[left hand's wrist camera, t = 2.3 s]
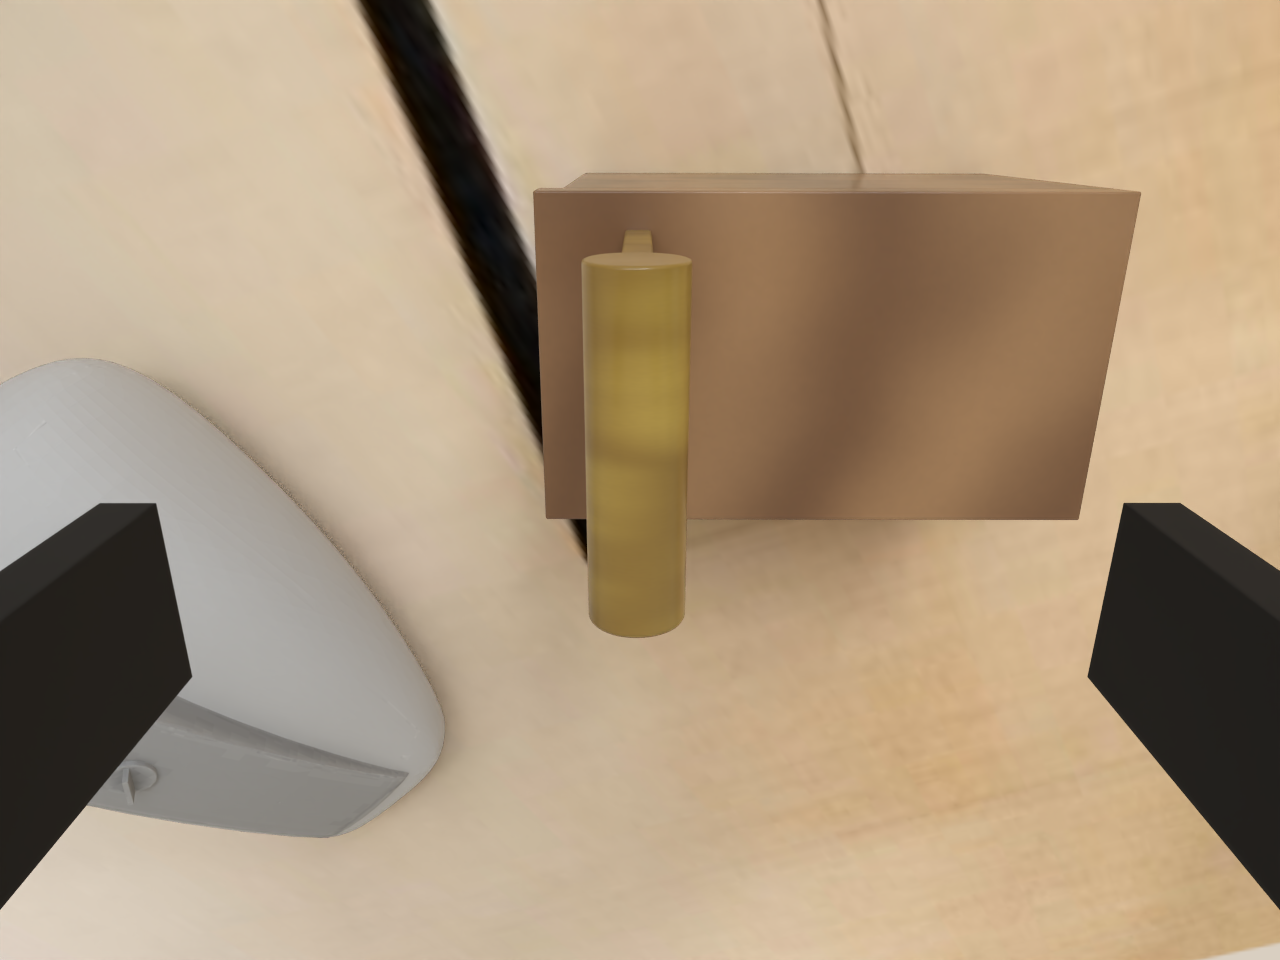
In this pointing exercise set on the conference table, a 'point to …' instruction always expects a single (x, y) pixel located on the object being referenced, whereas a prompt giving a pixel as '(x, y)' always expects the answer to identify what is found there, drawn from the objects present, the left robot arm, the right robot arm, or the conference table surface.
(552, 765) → the conference table surface
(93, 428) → the projector
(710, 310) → the lid
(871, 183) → the chest
